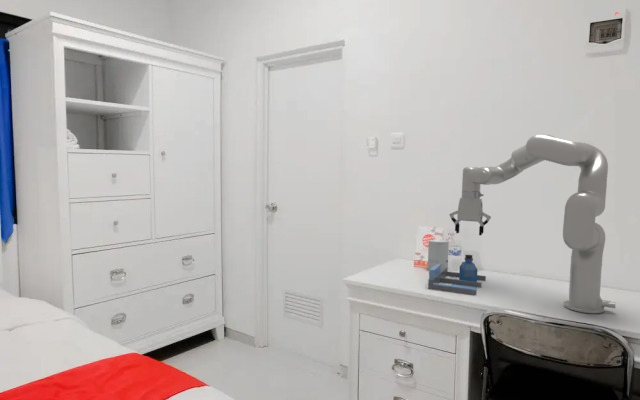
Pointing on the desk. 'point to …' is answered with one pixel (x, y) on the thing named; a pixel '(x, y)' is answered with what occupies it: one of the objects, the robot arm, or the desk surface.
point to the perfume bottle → (468, 270)
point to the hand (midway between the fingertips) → (468, 233)
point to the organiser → (451, 281)
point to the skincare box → (438, 253)
